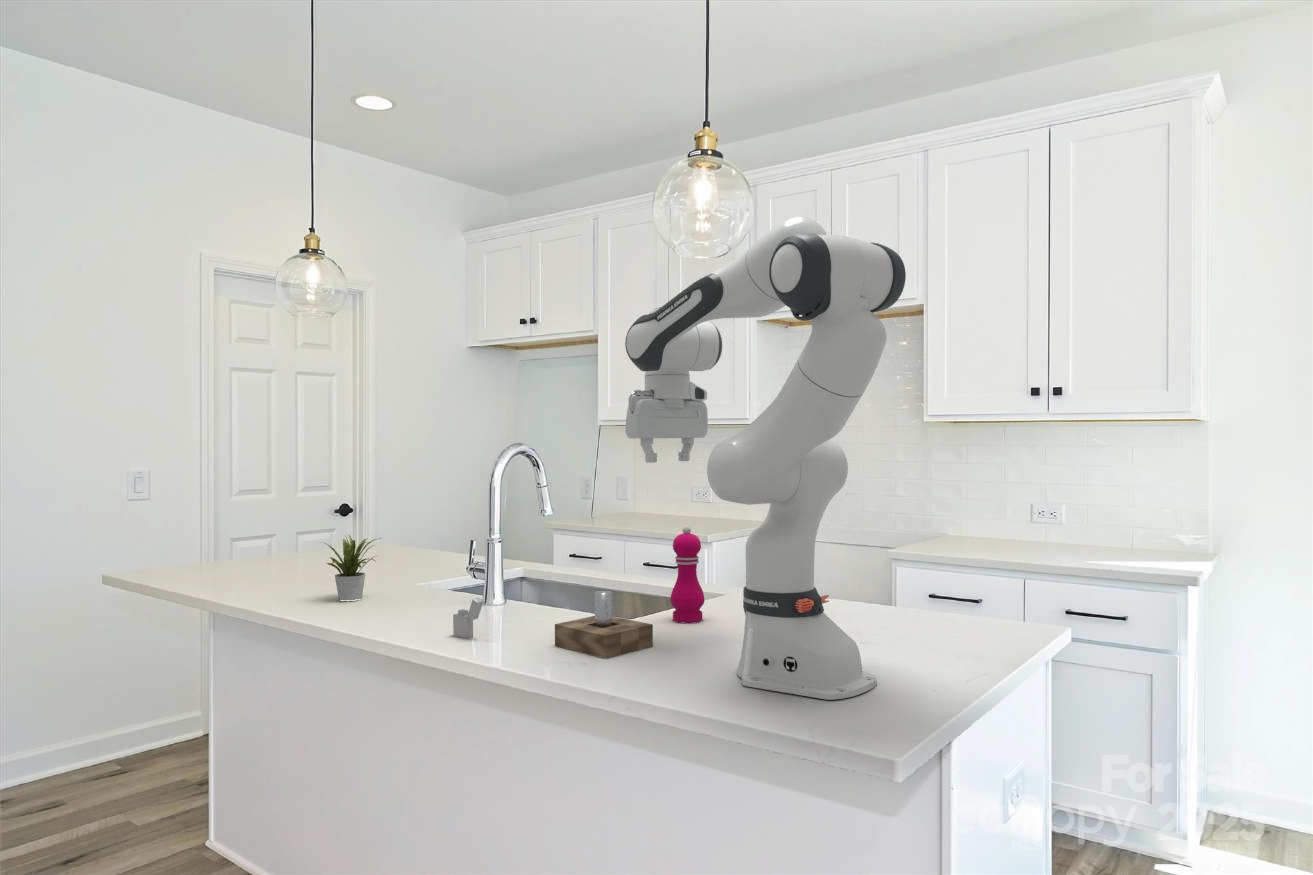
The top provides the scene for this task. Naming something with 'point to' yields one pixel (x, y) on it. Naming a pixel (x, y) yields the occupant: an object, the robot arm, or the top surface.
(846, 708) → the top surface
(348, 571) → the house plant
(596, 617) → the steel peg
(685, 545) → the pepper mill
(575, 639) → the walnut hole block
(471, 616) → the lighter
